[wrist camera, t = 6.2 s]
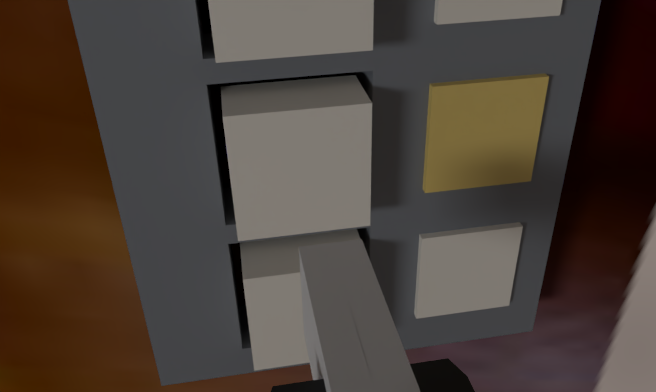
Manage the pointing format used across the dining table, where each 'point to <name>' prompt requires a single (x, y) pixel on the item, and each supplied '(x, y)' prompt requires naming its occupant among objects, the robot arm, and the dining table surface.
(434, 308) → the board
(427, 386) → the robot arm
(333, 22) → the button
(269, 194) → the button
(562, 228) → the dining table surface
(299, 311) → the button
